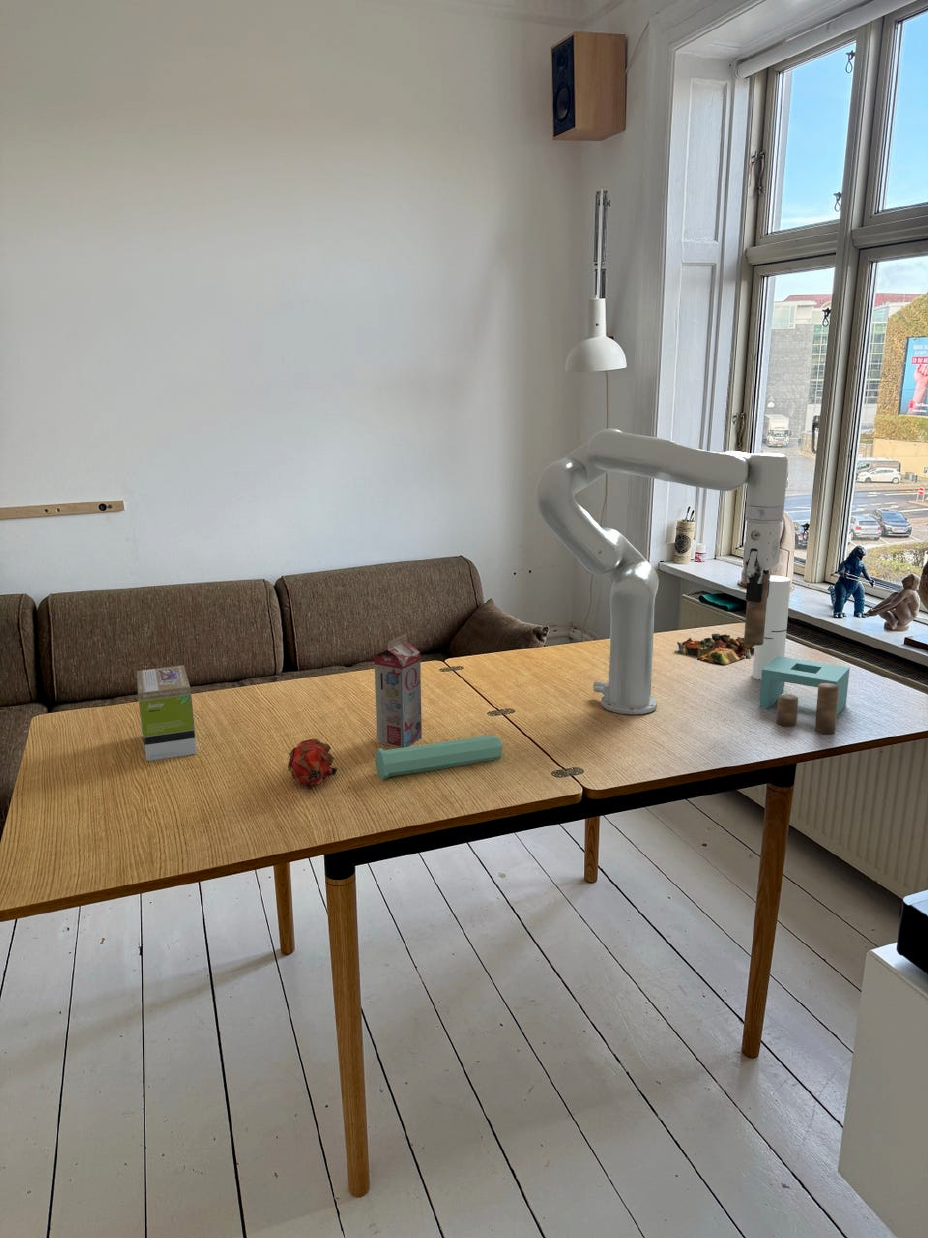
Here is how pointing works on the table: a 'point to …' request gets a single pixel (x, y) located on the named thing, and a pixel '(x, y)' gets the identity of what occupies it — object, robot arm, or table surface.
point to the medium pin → (826, 708)
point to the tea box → (166, 713)
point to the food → (717, 649)
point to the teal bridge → (801, 678)
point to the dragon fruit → (311, 762)
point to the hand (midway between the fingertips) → (757, 598)
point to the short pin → (787, 710)
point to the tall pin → (756, 617)
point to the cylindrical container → (773, 625)
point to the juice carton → (398, 694)
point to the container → (437, 755)
